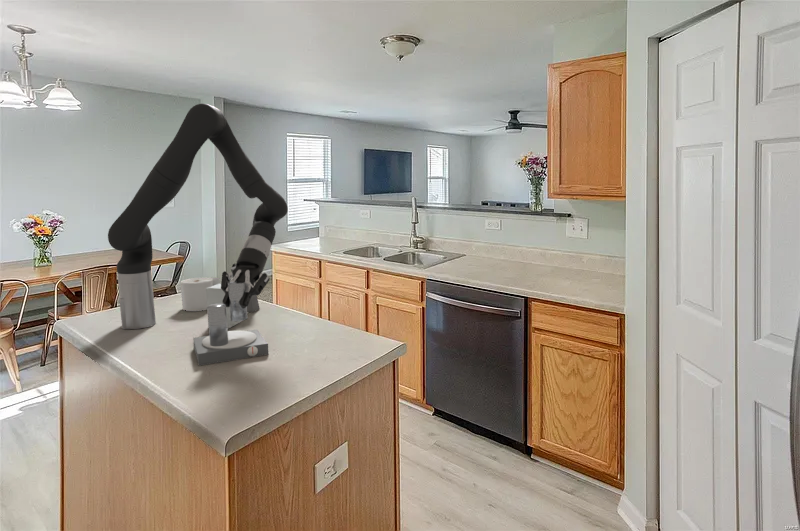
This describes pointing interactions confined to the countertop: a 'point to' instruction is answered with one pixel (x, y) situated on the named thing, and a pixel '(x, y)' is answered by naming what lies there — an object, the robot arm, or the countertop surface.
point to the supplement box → (218, 302)
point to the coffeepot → (253, 301)
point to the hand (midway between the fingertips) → (234, 306)
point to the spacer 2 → (237, 301)
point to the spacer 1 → (217, 324)
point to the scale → (231, 347)
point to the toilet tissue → (196, 292)
